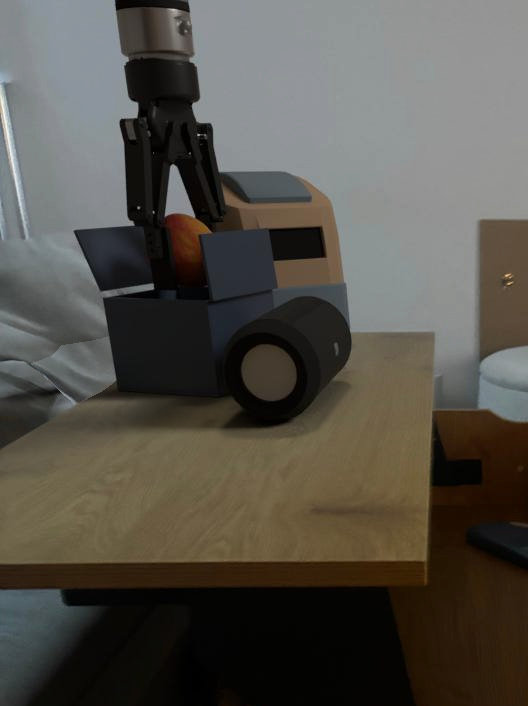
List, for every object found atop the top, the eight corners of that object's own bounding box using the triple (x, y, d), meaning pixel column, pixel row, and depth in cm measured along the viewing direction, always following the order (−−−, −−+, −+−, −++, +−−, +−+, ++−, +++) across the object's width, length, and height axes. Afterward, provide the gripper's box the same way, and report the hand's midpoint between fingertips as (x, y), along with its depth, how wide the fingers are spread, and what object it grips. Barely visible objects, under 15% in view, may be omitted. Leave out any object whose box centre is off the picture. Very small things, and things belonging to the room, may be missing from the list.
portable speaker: (320, 427, 98) (311, 322, 93) (221, 427, 98) (208, 322, 94) (357, 379, 121) (351, 293, 116) (277, 379, 121) (268, 293, 117)
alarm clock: (251, 371, 126) (229, 171, 116) (197, 355, 138) (173, 172, 128) (362, 356, 135) (350, 170, 125) (302, 343, 147) (287, 171, 137)
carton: (117, 390, 116) (91, 233, 108) (187, 370, 127) (167, 227, 120) (225, 398, 111) (205, 234, 104) (286, 376, 123) (272, 227, 115)
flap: (102, 290, 111) (100, 291, 111) (175, 279, 122) (173, 280, 123) (75, 229, 109) (72, 230, 109) (152, 224, 120) (149, 225, 121)
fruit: (163, 284, 118) (153, 212, 115) (230, 284, 118) (223, 211, 115) (145, 291, 111) (134, 214, 108) (217, 291, 111) (209, 214, 108)
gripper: (126, 48, 95) (161, 296, 104) (243, 67, 113) (264, 278, 122) (62, 52, 97) (103, 294, 107) (187, 70, 115) (212, 277, 125)
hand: (189, 285), depth 115 cm, fingers closed on fruit, 8 cm apart
